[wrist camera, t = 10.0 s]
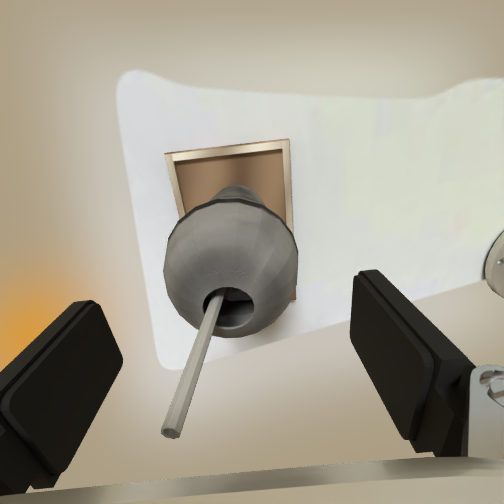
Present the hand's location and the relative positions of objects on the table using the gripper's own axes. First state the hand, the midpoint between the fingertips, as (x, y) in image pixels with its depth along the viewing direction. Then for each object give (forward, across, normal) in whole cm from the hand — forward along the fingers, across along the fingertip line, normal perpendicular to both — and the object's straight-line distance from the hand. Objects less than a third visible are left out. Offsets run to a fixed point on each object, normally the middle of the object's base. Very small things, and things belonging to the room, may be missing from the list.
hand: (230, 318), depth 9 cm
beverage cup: (+16, 0, 0) cm, 17 cm away
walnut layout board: (+18, 0, +3) cm, 18 cm away
